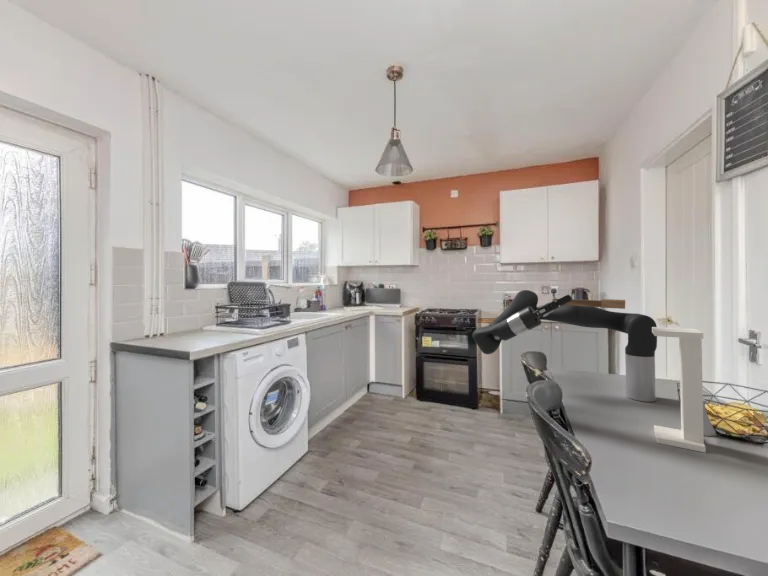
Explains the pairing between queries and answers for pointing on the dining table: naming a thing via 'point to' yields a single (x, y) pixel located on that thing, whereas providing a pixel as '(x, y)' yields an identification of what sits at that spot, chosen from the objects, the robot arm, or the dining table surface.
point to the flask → (707, 423)
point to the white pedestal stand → (686, 391)
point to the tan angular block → (597, 303)
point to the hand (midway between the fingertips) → (570, 297)
